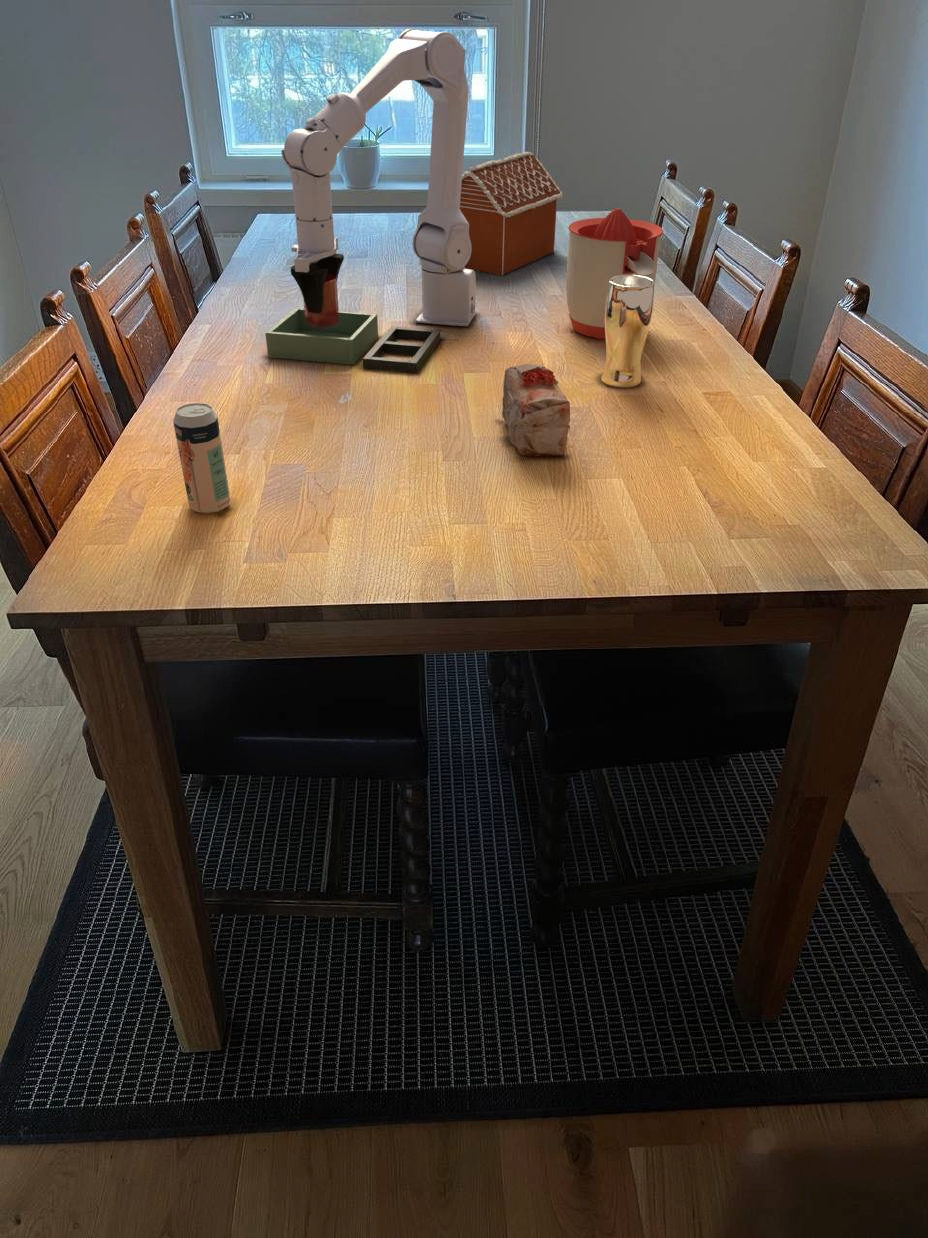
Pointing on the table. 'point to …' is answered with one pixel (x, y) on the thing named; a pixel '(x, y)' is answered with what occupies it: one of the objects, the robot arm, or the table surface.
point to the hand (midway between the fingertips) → (321, 306)
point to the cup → (325, 306)
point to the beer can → (202, 457)
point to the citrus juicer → (605, 264)
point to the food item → (535, 411)
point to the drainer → (402, 349)
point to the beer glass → (626, 328)
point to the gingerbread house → (509, 212)
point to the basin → (322, 338)
